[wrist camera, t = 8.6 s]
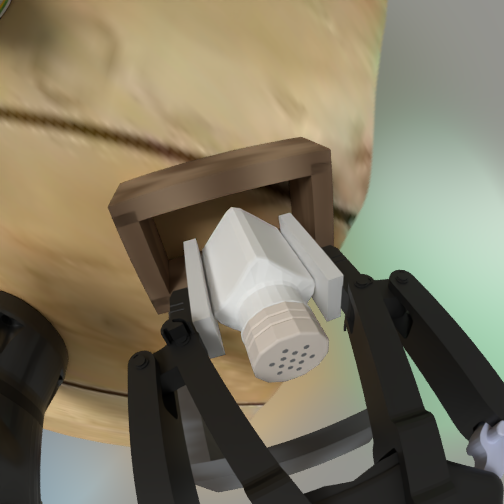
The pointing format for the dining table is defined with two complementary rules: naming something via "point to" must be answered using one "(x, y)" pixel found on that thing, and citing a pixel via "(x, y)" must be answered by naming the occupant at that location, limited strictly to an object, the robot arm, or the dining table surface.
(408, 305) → the robot arm
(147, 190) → the brown and grey frame
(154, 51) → the dining table surface
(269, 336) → the pepper shaker
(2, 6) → the supplement bottle
